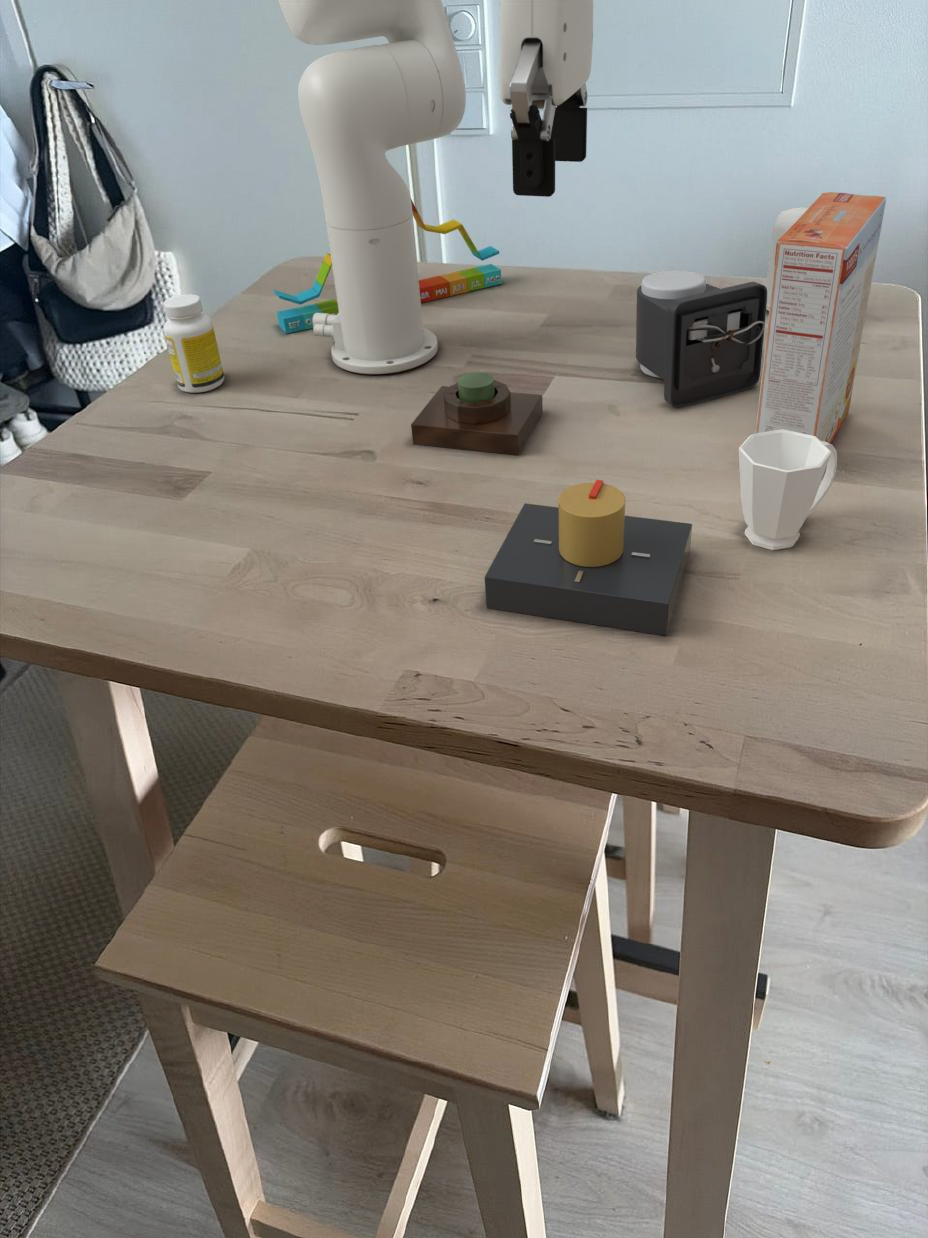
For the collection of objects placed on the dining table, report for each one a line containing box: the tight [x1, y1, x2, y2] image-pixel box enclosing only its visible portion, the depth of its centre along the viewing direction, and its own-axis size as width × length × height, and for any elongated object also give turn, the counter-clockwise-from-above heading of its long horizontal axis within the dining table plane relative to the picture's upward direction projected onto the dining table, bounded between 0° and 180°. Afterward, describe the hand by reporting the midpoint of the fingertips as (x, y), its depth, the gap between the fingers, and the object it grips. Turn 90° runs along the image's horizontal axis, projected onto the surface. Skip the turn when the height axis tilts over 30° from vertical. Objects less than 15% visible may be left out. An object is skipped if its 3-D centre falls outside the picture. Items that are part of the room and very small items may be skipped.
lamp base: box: [410, 379, 544, 456], centre depth 100 cm, size 11×9×4 cm
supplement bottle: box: [162, 293, 225, 394], centre depth 112 cm, size 5×5×10 cm
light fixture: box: [635, 269, 767, 409], centre depth 105 cm, size 11×13×11 cm
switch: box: [457, 371, 495, 402], centre depth 99 cm, size 4×4×2 cm
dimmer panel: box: [484, 503, 693, 636], centre depth 79 cm, size 14×11×3 cm
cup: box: [738, 429, 838, 551], centre depth 81 cm, size 7×10×8 cm
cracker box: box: [754, 191, 887, 445], centre depth 89 cm, size 14×6×21 cm, turn 150°
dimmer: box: [558, 479, 626, 567], centre depth 76 cm, size 5×5×5 cm
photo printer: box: [764, 206, 810, 312], centre depth 115 cm, size 10×4×12 cm, turn 32°
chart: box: [272, 198, 502, 335], centre depth 126 cm, size 30×3×15 cm, turn 115°
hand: (551, 176), depth 80 cm, fingers open, 9 cm apart
